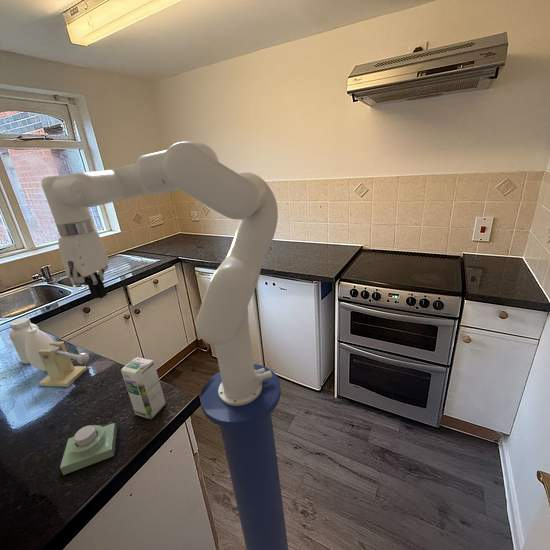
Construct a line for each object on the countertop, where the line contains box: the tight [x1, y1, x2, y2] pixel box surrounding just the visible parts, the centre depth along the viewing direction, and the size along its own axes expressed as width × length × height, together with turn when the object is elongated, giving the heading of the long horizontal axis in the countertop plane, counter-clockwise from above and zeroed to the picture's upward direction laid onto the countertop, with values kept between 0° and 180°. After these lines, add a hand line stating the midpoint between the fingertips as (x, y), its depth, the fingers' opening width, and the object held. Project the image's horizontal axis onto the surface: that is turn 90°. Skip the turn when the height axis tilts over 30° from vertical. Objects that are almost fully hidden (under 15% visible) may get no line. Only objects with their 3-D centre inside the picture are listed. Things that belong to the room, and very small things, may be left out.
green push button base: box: [59, 422, 118, 476], centre depth 68 cm, size 10×8×4 cm
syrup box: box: [120, 356, 167, 420], centre depth 77 cm, size 6×6×14 cm
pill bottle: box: [9, 317, 41, 364], centre depth 105 cm, size 8×8×15 cm
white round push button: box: [73, 424, 97, 447], centre depth 67 cm, size 4×4×2 cm
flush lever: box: [47, 345, 90, 365], centre depth 91 cm, size 13×3×3 cm, turn 81°
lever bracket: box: [38, 341, 88, 388], centre depth 93 cm, size 10×8×12 cm
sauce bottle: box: [25, 323, 54, 372], centre depth 97 cm, size 8×8×18 cm
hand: (99, 296), depth 79 cm, fingers closed
